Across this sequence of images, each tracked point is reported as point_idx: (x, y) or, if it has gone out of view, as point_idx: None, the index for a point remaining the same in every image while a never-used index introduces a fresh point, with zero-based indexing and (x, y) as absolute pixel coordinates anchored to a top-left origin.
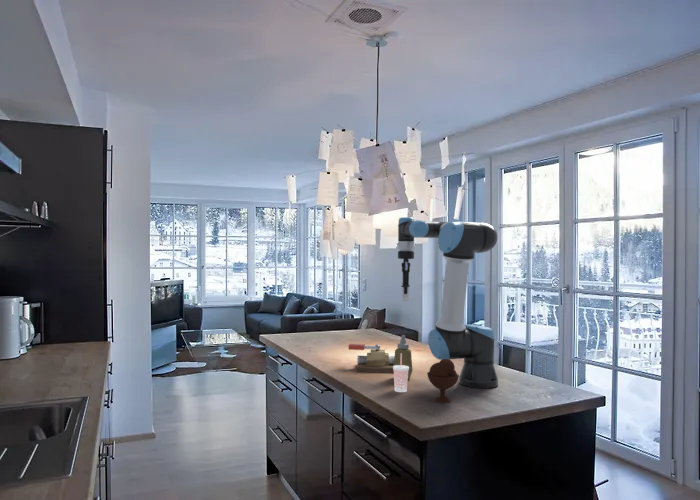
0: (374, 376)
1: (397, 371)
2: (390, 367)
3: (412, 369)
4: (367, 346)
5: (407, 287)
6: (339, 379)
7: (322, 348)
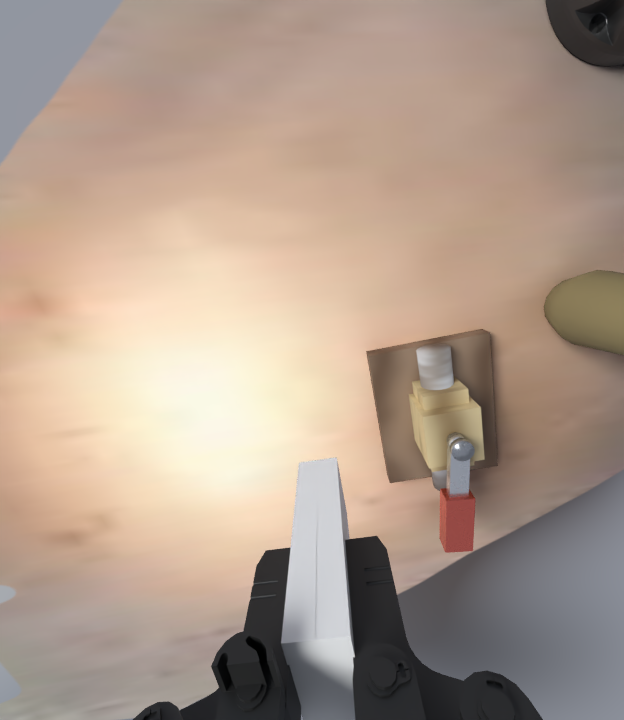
0: (544, 397)
1: None
2: (482, 363)
3: (600, 270)
4: (464, 485)
5: (351, 643)
6: (592, 483)
7: (179, 609)
